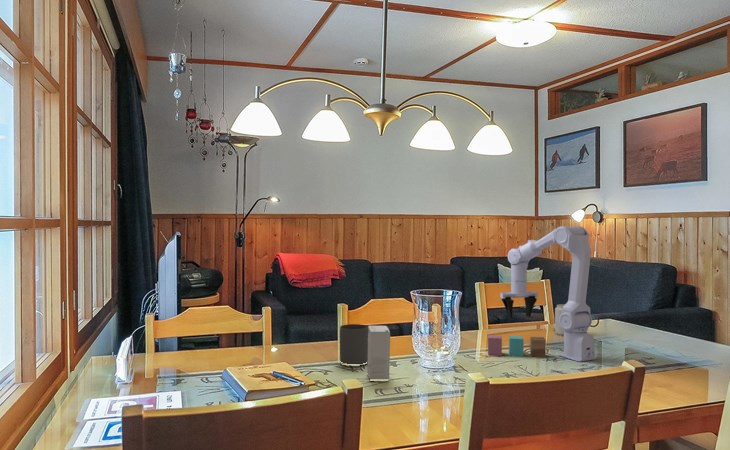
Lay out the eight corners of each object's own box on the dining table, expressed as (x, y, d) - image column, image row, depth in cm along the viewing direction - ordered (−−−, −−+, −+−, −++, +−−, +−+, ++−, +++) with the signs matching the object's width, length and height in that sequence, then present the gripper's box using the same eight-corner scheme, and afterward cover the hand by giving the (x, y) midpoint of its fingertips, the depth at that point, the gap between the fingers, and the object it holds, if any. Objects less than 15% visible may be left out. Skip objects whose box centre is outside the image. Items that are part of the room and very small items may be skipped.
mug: (370, 366, 177) (370, 328, 177) (342, 368, 176) (342, 329, 176) (362, 356, 191) (362, 321, 191) (335, 357, 189) (335, 322, 189)
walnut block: (545, 357, 188) (545, 339, 188) (531, 357, 189) (531, 339, 189) (543, 354, 193) (543, 337, 193) (530, 354, 194) (530, 336, 194)
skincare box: (366, 374, 168) (366, 325, 168) (386, 374, 168) (386, 324, 168) (369, 382, 159) (369, 330, 159) (390, 382, 160) (390, 330, 160)
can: (571, 333, 230) (571, 303, 230) (577, 336, 222) (576, 306, 222) (553, 332, 230) (553, 303, 230) (557, 336, 223) (557, 306, 223)
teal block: (523, 356, 190) (523, 339, 190) (509, 356, 191) (509, 338, 190) (522, 353, 194) (522, 336, 194) (509, 353, 195) (508, 336, 195)
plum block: (501, 355, 191) (501, 338, 191) (488, 355, 192) (488, 337, 192) (501, 352, 195) (501, 335, 195) (487, 352, 196) (487, 335, 196)
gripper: (530, 279, 216) (530, 314, 216) (496, 280, 212) (496, 316, 212) (540, 280, 209) (540, 317, 209) (505, 282, 206) (505, 319, 206)
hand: (519, 317), depth 210 cm, fingers open, 7 cm apart
